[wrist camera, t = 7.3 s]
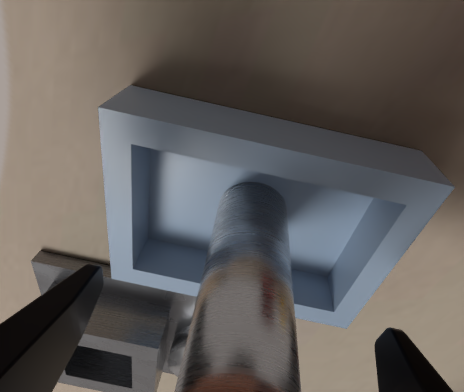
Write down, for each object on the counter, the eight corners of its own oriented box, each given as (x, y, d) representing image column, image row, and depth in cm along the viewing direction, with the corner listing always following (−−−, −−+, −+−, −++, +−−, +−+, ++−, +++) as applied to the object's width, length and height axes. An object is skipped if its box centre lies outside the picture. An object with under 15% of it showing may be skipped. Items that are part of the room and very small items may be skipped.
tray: (421, 150, 11) (455, 186, 9) (337, 285, 16) (346, 328, 14) (130, 85, 11) (98, 107, 9) (132, 241, 16) (111, 278, 14)
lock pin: (308, 184, 12) (366, 474, 5) (281, 249, 14) (294, 514, 7) (216, 164, 12) (137, 430, 5) (204, 233, 14) (136, 484, 7)
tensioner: (277, 301, 17) (278, 358, 15) (242, 376, 23) (238, 427, 20) (40, 250, 17) (-4, 299, 14) (64, 339, 23) (37, 386, 20)
